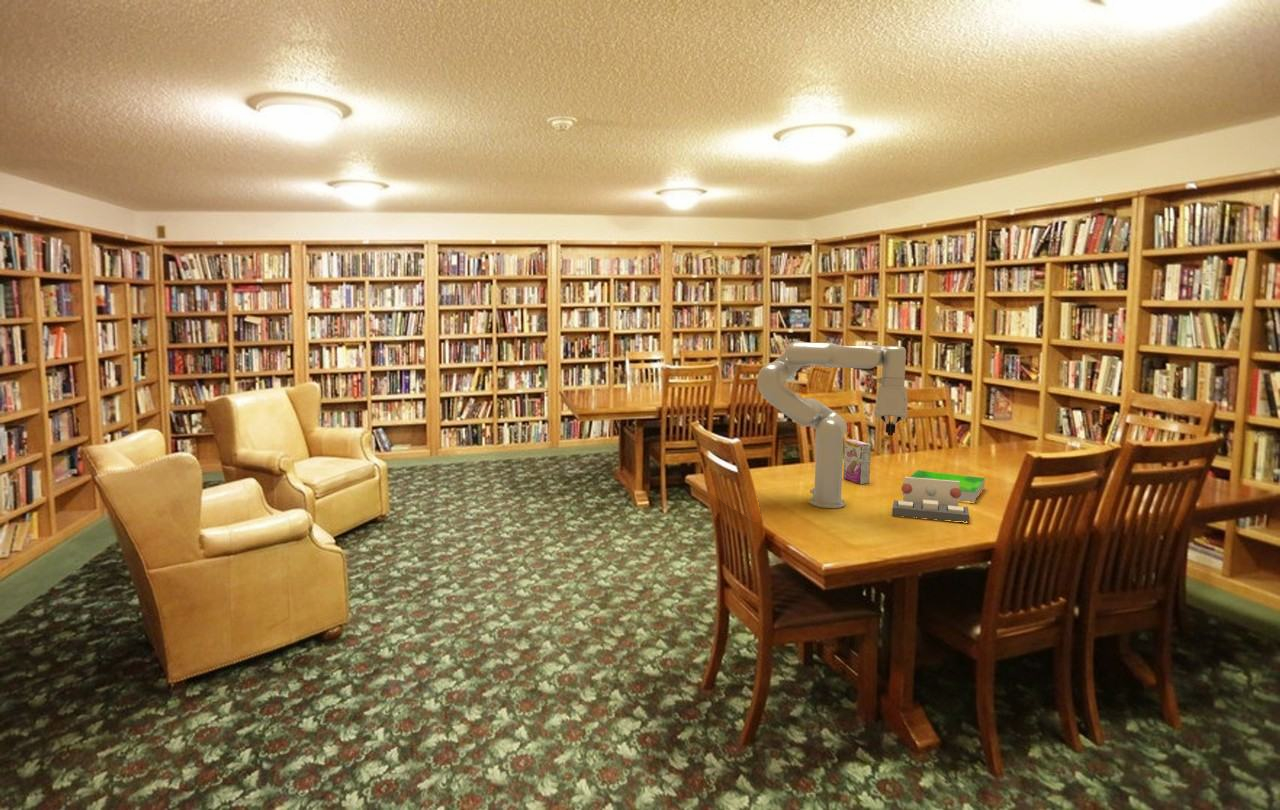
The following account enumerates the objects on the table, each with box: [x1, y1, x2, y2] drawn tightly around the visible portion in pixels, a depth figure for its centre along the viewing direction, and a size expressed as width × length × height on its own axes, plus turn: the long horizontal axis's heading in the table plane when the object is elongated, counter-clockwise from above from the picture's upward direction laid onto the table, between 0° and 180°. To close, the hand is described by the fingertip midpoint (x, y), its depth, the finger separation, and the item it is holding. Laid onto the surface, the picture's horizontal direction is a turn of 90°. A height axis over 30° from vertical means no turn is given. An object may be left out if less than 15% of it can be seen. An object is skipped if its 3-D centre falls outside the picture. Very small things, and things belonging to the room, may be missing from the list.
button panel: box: [891, 476, 970, 523], centre depth 251 cm, size 24×14×11 cm, turn 68°
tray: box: [902, 469, 986, 502], centre depth 281 cm, size 25×25×5 cm
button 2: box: [948, 505, 964, 513], centre depth 247 cm, size 5×5×3 cm
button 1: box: [897, 500, 913, 508], centre depth 253 cm, size 5×5×3 cm
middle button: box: [923, 500, 938, 510], centre depth 250 cm, size 5×5×3 cm
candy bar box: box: [842, 438, 872, 485], centre depth 297 cm, size 11×5×16 cm, turn 22°
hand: (890, 434), depth 253 cm, fingers closed
